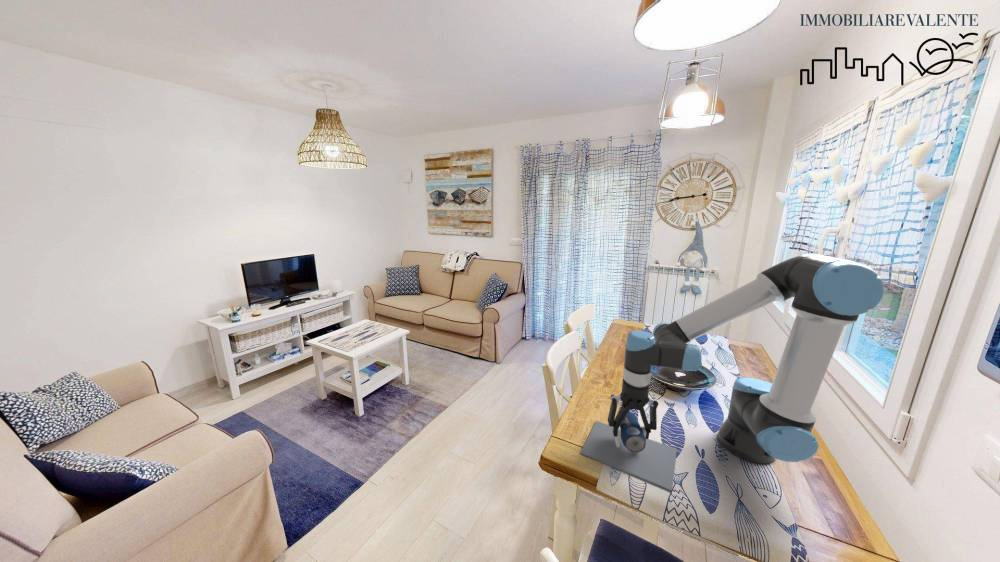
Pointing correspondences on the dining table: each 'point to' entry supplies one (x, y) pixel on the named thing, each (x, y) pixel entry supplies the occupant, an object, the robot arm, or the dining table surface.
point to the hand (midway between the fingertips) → (629, 445)
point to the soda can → (632, 433)
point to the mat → (632, 456)
